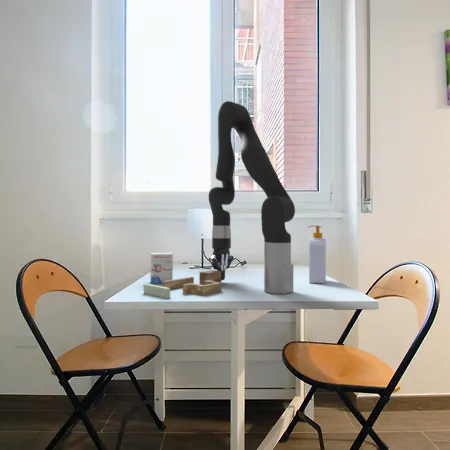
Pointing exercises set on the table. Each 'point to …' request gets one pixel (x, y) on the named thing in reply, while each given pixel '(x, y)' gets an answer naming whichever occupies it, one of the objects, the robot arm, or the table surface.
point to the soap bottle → (317, 258)
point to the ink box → (161, 267)
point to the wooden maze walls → (194, 286)
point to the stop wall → (157, 290)
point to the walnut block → (210, 276)
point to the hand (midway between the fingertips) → (221, 279)
